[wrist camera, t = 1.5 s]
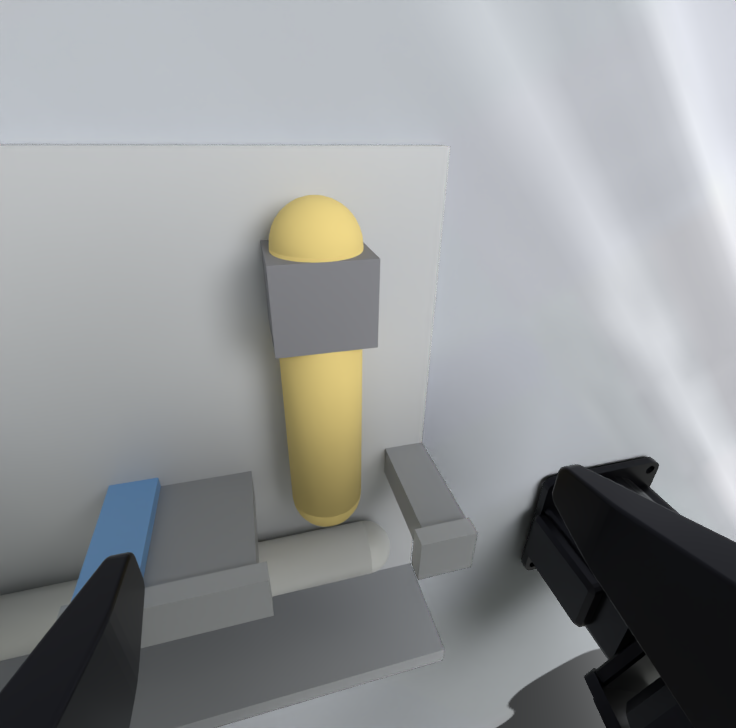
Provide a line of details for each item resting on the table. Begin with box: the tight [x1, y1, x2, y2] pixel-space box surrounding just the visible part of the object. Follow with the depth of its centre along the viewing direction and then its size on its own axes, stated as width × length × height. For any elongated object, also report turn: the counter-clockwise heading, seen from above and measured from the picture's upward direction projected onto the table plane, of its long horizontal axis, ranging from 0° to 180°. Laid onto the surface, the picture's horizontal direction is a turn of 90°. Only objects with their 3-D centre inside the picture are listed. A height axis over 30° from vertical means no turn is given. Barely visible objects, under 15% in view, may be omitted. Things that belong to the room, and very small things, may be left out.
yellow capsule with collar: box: [260, 195, 380, 527], centre depth 13 cm, size 11×3×2 cm, turn 179°
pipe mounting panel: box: [0, 144, 478, 728], centre depth 13 cm, size 19×18×5 cm
